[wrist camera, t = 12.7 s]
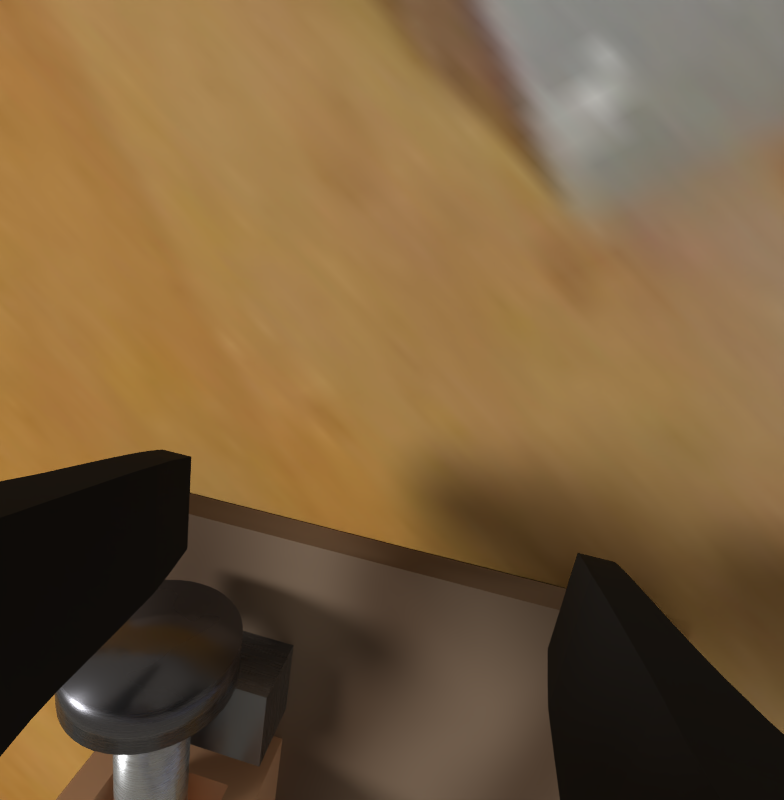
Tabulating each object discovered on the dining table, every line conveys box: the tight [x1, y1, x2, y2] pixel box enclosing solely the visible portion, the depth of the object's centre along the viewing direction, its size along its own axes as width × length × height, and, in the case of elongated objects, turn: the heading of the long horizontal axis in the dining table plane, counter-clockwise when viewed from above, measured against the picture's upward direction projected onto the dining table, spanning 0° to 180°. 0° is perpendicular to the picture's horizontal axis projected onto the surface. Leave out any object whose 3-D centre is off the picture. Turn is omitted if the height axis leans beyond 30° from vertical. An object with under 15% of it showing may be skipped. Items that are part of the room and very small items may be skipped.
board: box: [165, 493, 566, 800], centre depth 17 cm, size 16×18×1 cm
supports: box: [190, 631, 294, 767], centre depth 17 cm, size 5×11×2 cm, turn 171°
